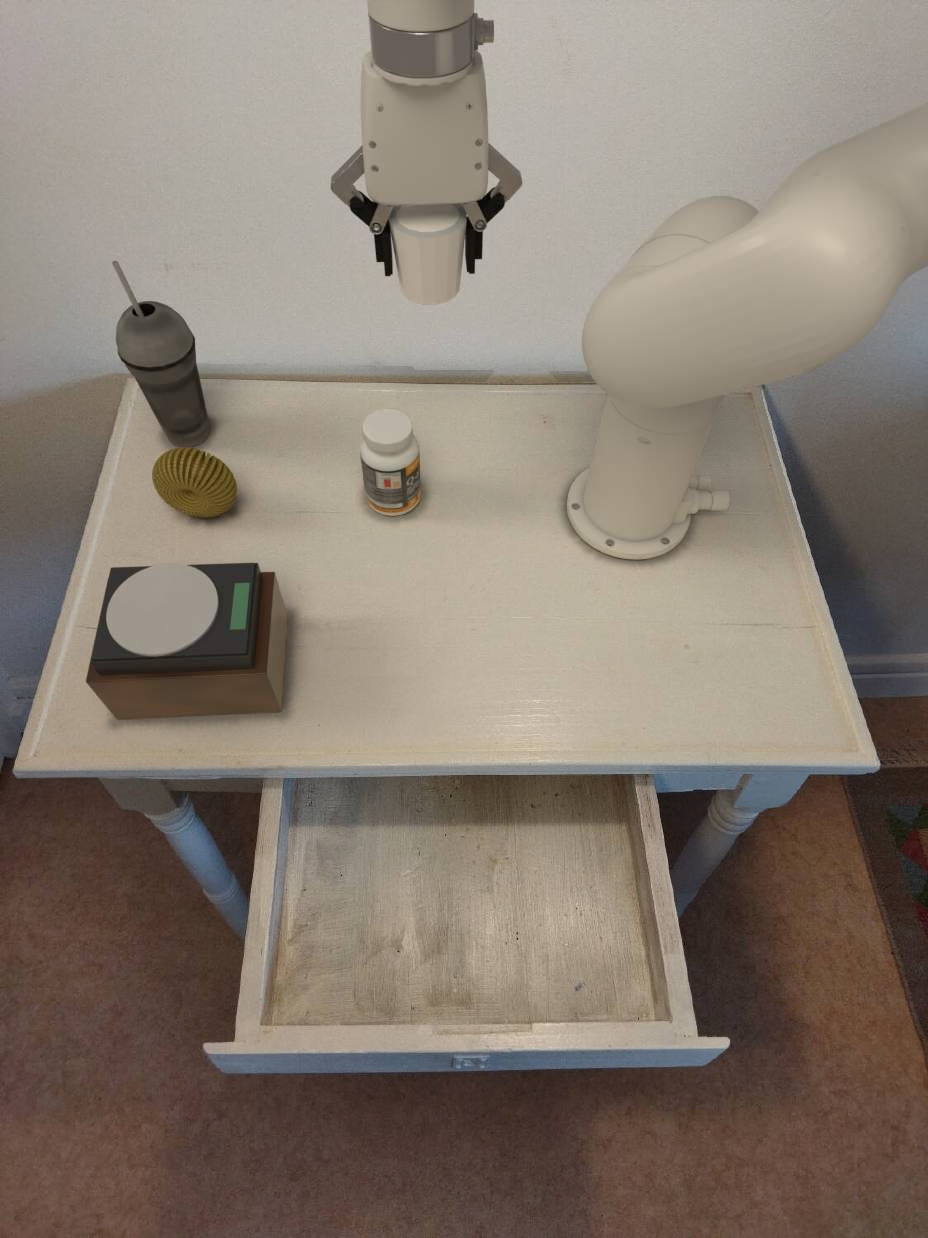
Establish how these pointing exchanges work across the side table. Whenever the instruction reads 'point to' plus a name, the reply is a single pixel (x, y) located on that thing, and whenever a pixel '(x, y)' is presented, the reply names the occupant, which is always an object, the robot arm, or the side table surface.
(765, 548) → the side table surface
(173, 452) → the sculpture
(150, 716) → the walnut riser
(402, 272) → the white cup
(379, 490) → the pill bottle
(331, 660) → the side table surface
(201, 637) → the kitchen scale
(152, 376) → the beverage cup
